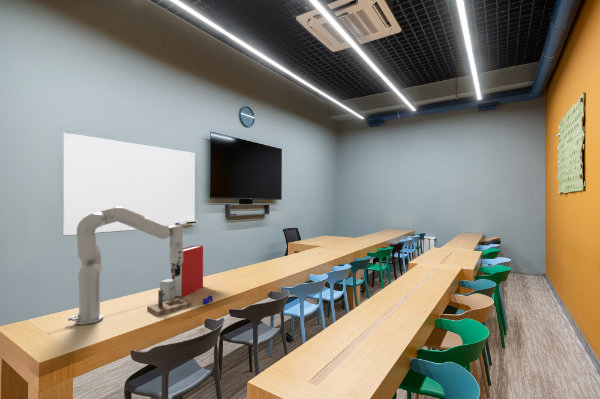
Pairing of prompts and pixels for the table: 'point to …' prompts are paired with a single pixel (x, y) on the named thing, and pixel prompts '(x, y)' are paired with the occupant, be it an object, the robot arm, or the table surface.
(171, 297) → the supplement box
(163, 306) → the brown base with post
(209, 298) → the cable holder
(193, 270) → the book
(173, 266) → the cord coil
